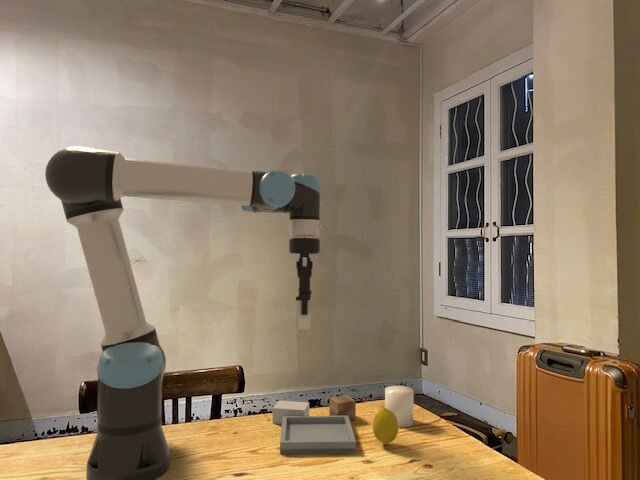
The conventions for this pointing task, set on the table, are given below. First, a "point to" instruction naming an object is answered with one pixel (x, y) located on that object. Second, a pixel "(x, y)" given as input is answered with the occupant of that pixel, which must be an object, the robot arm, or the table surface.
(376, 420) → the lemon
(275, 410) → the grey box
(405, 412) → the cream rounded cylinder
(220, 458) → the table surface
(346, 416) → the dish
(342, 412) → the walnut block
